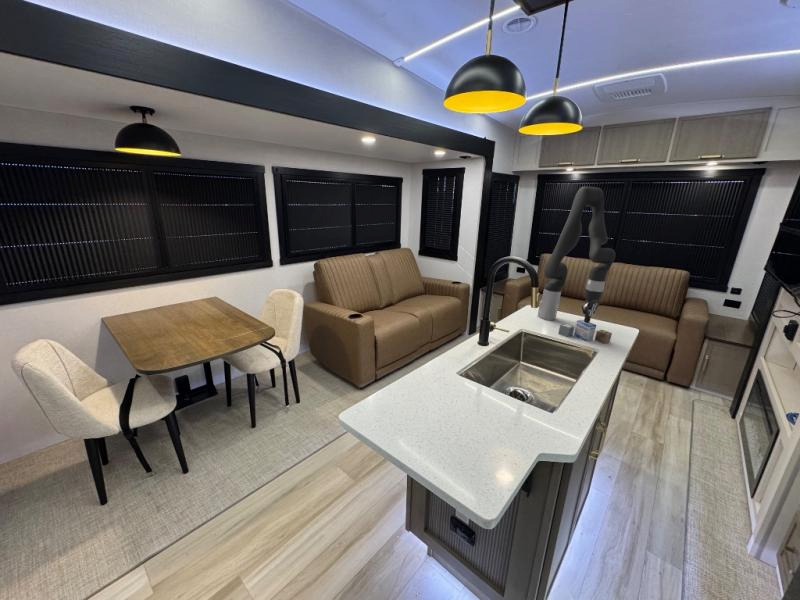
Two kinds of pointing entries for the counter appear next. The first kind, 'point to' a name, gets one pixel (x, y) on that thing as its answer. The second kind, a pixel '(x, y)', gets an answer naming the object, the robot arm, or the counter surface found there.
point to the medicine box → (584, 330)
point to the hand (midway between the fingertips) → (586, 322)
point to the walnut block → (603, 336)
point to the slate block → (566, 330)
